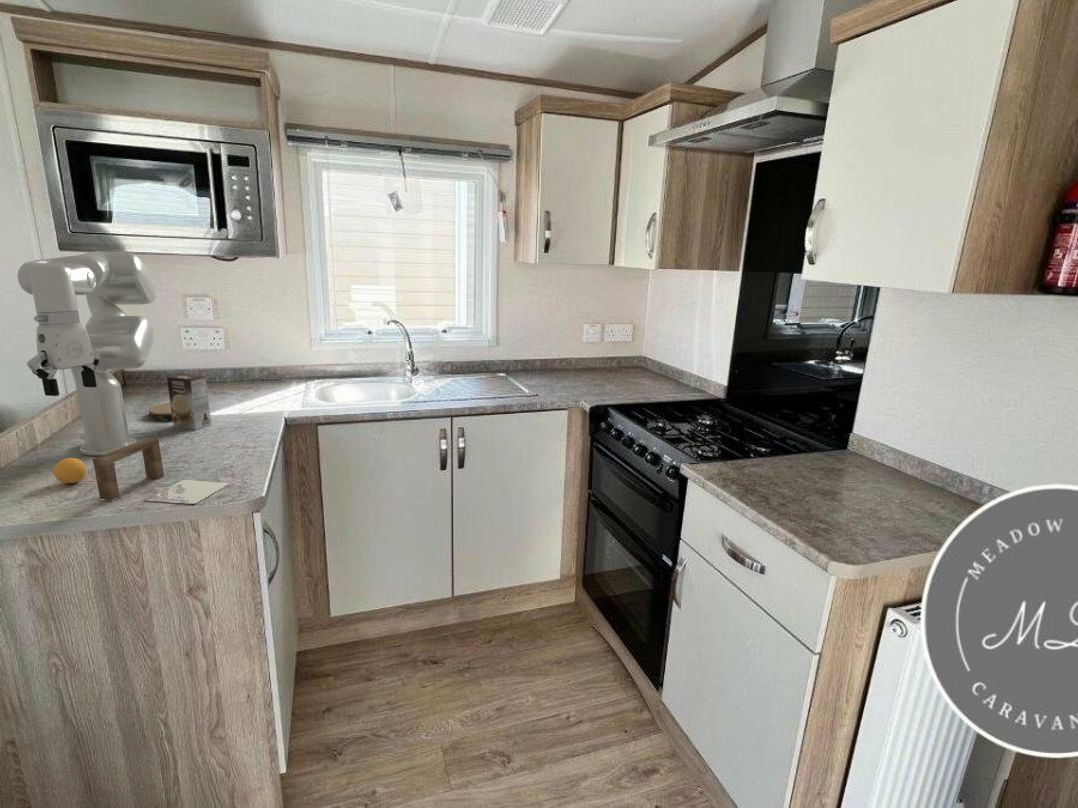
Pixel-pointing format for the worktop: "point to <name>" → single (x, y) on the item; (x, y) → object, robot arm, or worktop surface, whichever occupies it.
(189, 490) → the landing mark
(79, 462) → the ball
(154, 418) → the wood slice
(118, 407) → the robot arm
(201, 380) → the coffee box
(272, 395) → the worktop surface
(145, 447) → the bridge
